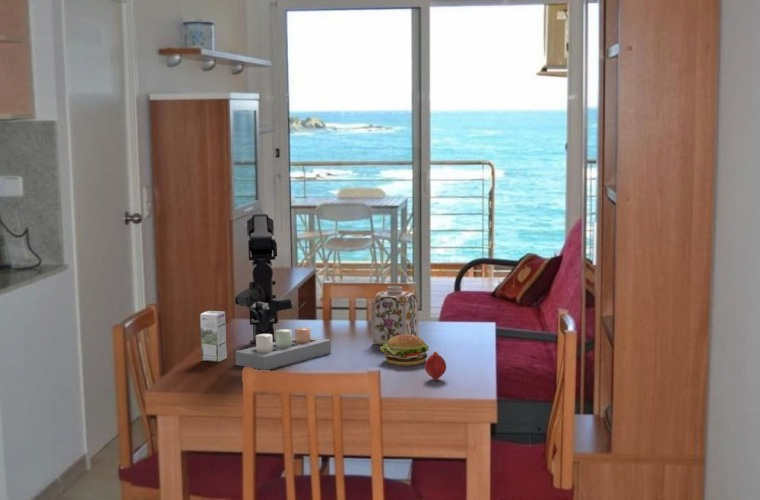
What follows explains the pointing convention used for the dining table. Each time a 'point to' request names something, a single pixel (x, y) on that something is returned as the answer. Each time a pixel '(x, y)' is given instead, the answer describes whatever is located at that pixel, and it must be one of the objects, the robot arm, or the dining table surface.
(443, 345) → the dining table surface
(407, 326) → the decorative jar
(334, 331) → the dining table surface
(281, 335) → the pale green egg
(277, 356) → the grey holder tray
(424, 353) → the food
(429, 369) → the onion
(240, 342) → the dining table surface
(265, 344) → the cream rounded tapered piece
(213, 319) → the syrup box
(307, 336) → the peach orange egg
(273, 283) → the robot arm
